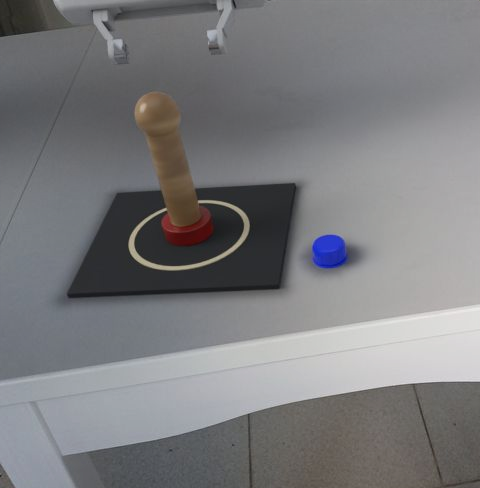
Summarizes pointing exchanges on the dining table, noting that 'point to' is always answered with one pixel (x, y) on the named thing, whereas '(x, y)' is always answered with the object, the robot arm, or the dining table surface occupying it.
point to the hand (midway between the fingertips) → (168, 57)
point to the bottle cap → (329, 251)
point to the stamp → (172, 170)
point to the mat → (193, 256)
